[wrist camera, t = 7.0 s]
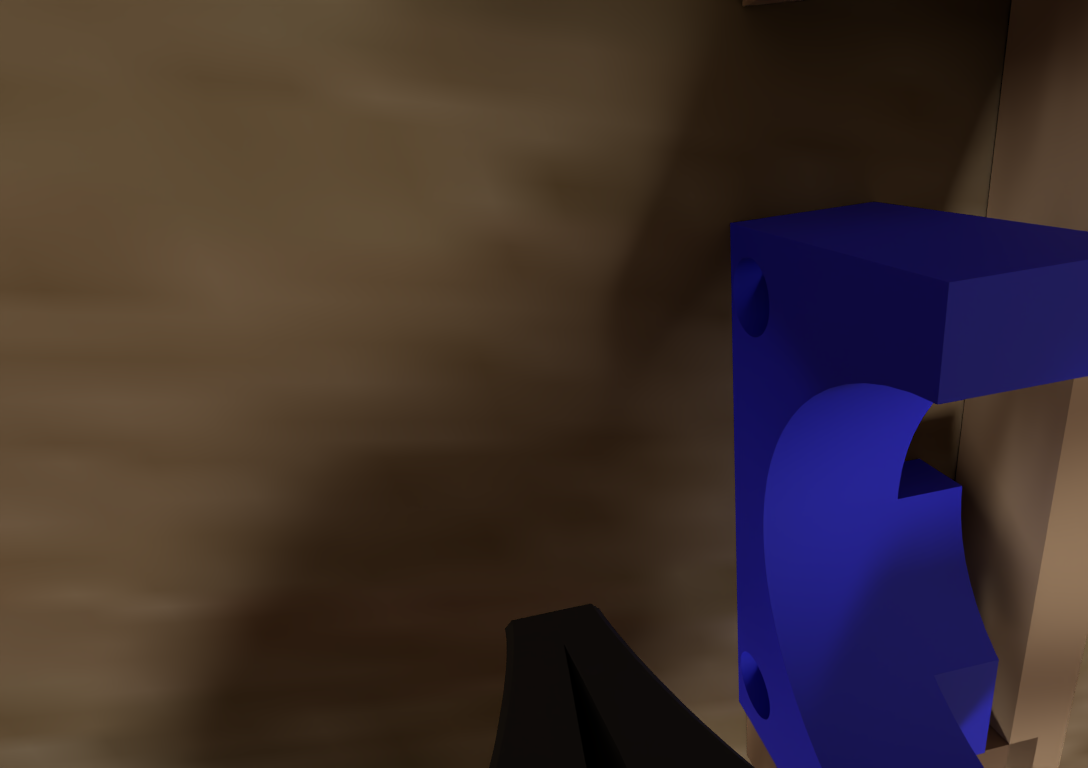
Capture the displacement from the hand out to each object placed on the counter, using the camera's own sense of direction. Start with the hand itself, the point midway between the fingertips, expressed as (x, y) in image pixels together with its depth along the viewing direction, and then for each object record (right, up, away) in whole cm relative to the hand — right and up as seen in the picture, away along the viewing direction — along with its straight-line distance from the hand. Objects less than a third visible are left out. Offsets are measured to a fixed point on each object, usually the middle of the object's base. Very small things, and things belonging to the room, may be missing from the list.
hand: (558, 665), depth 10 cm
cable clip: (+6, +2, +6) cm, 9 cm away
